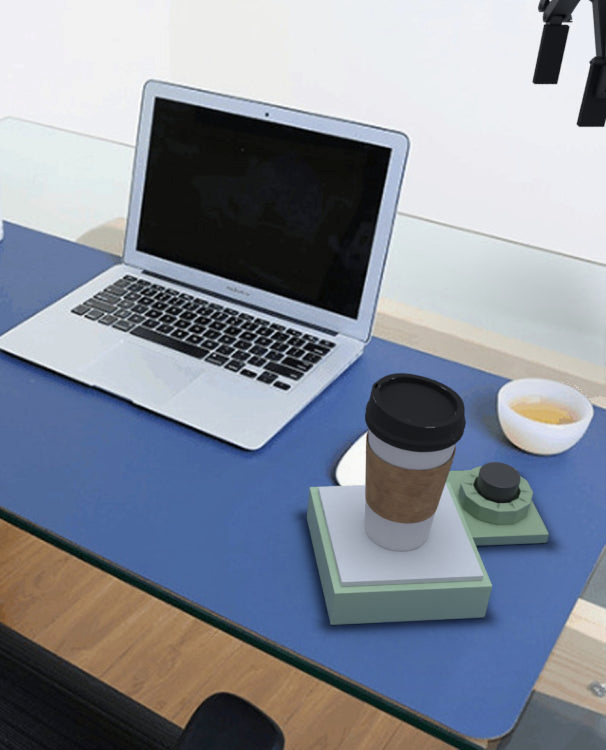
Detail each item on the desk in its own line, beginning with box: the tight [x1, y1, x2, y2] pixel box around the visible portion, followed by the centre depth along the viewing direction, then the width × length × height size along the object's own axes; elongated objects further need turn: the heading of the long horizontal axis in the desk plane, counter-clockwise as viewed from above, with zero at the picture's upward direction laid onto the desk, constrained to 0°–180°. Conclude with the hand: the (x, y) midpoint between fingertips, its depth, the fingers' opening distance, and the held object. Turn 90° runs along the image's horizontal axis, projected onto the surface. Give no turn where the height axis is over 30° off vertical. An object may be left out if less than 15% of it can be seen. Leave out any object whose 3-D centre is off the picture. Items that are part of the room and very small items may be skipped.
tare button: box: [476, 461, 521, 503], centre depth 100 cm, size 4×4×2 cm
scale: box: [306, 482, 493, 626], centre depth 93 cm, size 14×14×5 cm
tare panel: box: [446, 465, 550, 547], centre depth 101 cm, size 8×10×3 cm
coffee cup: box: [364, 372, 467, 551], centre depth 88 cm, size 8×8×15 cm
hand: (566, 103), depth 110 cm, fingers open, 13 cm apart
